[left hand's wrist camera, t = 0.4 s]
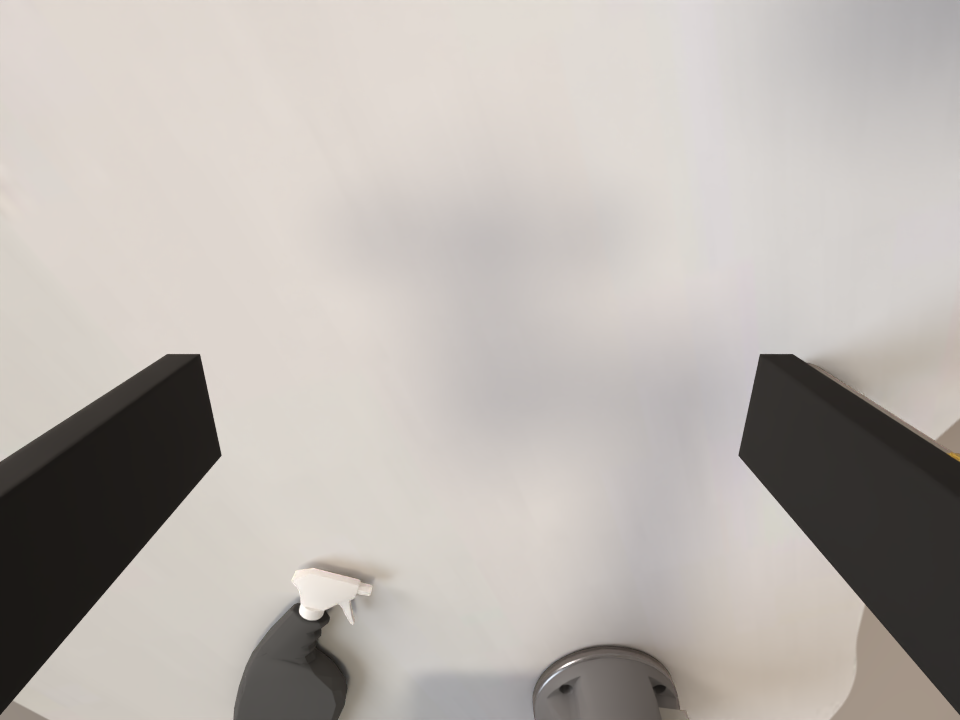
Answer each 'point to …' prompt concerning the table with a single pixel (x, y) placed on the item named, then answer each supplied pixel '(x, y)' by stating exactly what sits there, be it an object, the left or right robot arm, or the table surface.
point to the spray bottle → (299, 656)
